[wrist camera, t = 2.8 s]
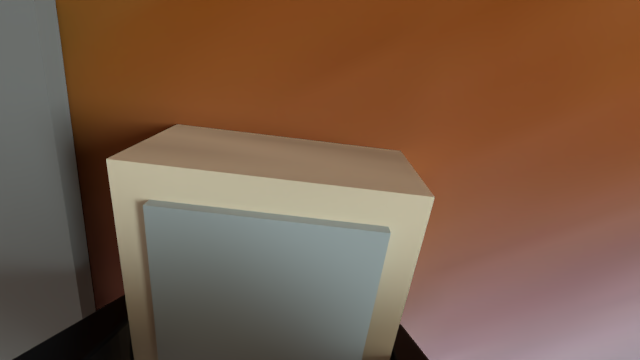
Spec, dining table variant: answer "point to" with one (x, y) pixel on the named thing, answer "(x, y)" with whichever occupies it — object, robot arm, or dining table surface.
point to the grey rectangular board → (38, 185)
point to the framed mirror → (264, 245)
